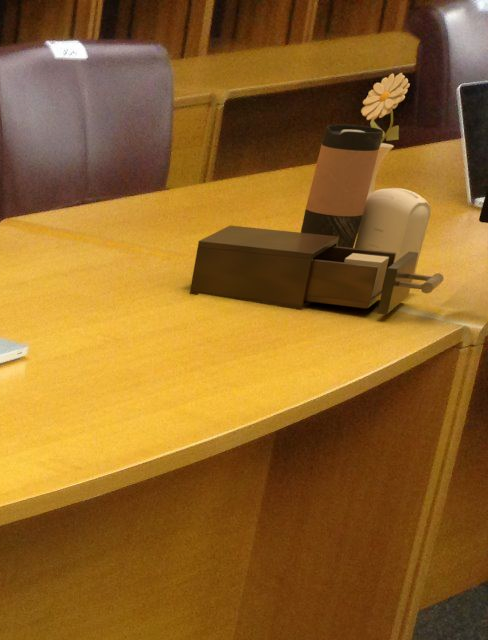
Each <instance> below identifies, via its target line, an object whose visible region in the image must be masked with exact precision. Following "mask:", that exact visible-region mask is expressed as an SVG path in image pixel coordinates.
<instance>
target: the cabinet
mask: <svg viewBox="0 0 488 640" xmlns="http://www.w3.org/2000/svg"><path fill="white" fill-rule="evenodd" d="M338 240H339V237H338V236H328V235H319V234H309V233H301V232H298V231H288V230H278V229H267V228H261V227H260V228H259V227H251V226H249V227H248V226H241V225H240V226H239V225H228V226H226V227H224V228H222V229H220V230H218V231H215V232H214V233H211V234H210V235H208V236H206V237H204V238H201V239H200V240H198V243H197V248H196V253H195V254H196V255H195V260H194V265H193V270H192V277H191V282H190V289H189V295H193V296H198V295H206V296H212V297H219V298H225V299H229V300H231V299H232V300H237V301H243V302H249V303H256V304H263V305H267V306H274V307H280V308H285V309H286V308H287V309H292V310H298V311H302V310H304V309H305V308H306V307H307V306H309V305H310V304H312V302H311V301H304V300H305V295H306V290H307V285H308V281H309V276H310V271H311V266H312V261H313V258H314V257H316V256H317V255H319V254H320V253H322V252H324V251H325V250H327V249H328V248H330V247H331V246H337V245H338Z"/></svg>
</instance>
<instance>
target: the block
mask: <svg viewBox="0 0 488 640" xmlns="http://www.w3.org/2000/svg"><path fill="white" fill-rule="evenodd" d="M388 260H389V257H385V256H375V255H366V254H357V253H352V254H351V255H350V256H348V257H347V258H345V261H344V263H353V264H362V265H371V266H378V271H377V275H376V279H375V284H374V288H373V293H372V297H375V296H376V295H377V294H378V293H380V292H381V291H382V286H383V282H384V278H385V273H386V269H387V264H388Z"/></svg>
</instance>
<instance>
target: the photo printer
mask: <svg viewBox="0 0 488 640" xmlns="http://www.w3.org/2000/svg"><path fill="white" fill-rule="evenodd" d="M431 214H432V209H431V205H430V204H429V202H428V201H427V200H426V199H425V198H424V197H423V196H421V195H419V194H418V193H416V192H414V191H412V190H410V189H406V188H401V187H388V188H380V189H377V190H374V192H373V193H372V194H371V195H370V196H369V197H368V199H367V201H366V204H365V208H364V212H363V215H362V219H361V223H360V227H359V231H358V233H357V237H356V240H355V244H354V247H353V248H357V249H366V250H376V251H385V252H395V253H396V258H395V262H396V261H397V260H399V259H400V258H401V257H403V256H404V255H405V254H407V253H408V252H418V257H417V261H416V265H415V269H414V274H416V270H417V267H418V263H419V259H420V256H421V255H420V254H421V251H422V247H423V244H424V240H425V237H426V233H427V229H428V226H429V223H430V218H431ZM395 262H394V263H395ZM413 281H414V279H412V282H413Z"/></svg>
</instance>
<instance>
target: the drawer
mask: <svg viewBox="0 0 488 640" xmlns="http://www.w3.org/2000/svg"><path fill="white" fill-rule="evenodd" d="M352 253H357V254H366V255H375V256H385V257H389V260H388V264H387V269H386V273H385V278H384V282H383V286H382V291H381V292H380V293H378V294H377V295H376V296H375V297H372V293H373V288H374V284H375V279H376V275H377V271H378V266H371V265H362V264H353V263H344V261H345V258H347V257H348V256H350V255H351V254H352ZM417 257H418V252H408V253H407V254H405V255H404V256H403V257H401V258H400V259H399V260H397V261H396V262H395V258H396V253H395V252H385V251H376V250H366V249H357V248H354V247H353V248H347V247H338V246H331V247H330V248H328V249H327V250H325V251H324V252H322V253H320V254H319V255H317V256H316V257H314V258H313V261H312V266H311V271H310V276H309V281H308V285H307V290H306V295H305V300H304V301H311V303H318V304H319V303H320V304H329V305H335V306H344V307H352V308H359V309H369V308H370V307H372V306H373V305H374V304H375V303H377V301H379V304H378V308H377V314H381V315H388V314H389V313H391V311H393V310H394V309H395V308H396V307H397V306H399V305H400V304H401V303H402V302H403V301H404V300H405V299H406V298H408V297H409V294H410V291H411V289H415V290H421V292H422V293H423V294H430V293H432V292H433V291H434V290H435V289H436V288H437V287H439V286H440V285H441V284H442V283H443V282H444V275H443V274H441V273H440V272H439V273H434V274H433V275H425V274H416V273H415V274H414V269H415V265H416V261H417ZM394 262H395V263H394ZM412 279H413V281H415V280H416V281H425V282H424V283H419V282H413V281H412Z"/></svg>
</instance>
